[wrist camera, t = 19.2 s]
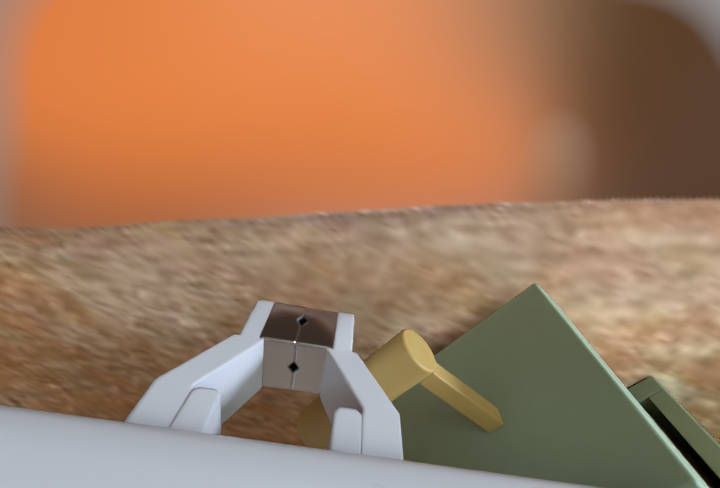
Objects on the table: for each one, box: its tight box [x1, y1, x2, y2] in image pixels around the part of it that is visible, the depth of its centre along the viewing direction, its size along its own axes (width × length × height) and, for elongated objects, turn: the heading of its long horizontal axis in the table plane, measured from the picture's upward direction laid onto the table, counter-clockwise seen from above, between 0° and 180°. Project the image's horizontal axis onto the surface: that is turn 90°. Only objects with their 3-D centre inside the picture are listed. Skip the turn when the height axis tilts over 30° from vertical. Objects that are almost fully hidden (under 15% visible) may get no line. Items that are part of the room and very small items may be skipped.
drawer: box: [297, 284, 719, 488], centre depth 13 cm, size 18×11×7 cm, turn 48°
